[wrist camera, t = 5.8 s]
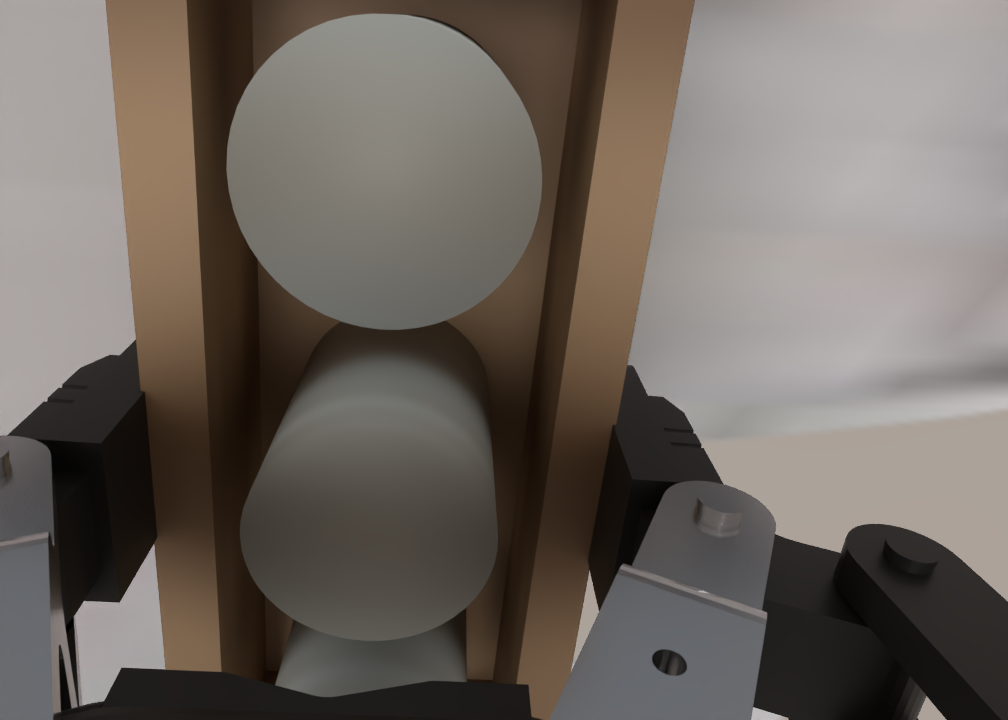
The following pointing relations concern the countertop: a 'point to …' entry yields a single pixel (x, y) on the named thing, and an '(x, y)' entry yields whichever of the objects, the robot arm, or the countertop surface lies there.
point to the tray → (265, 326)
